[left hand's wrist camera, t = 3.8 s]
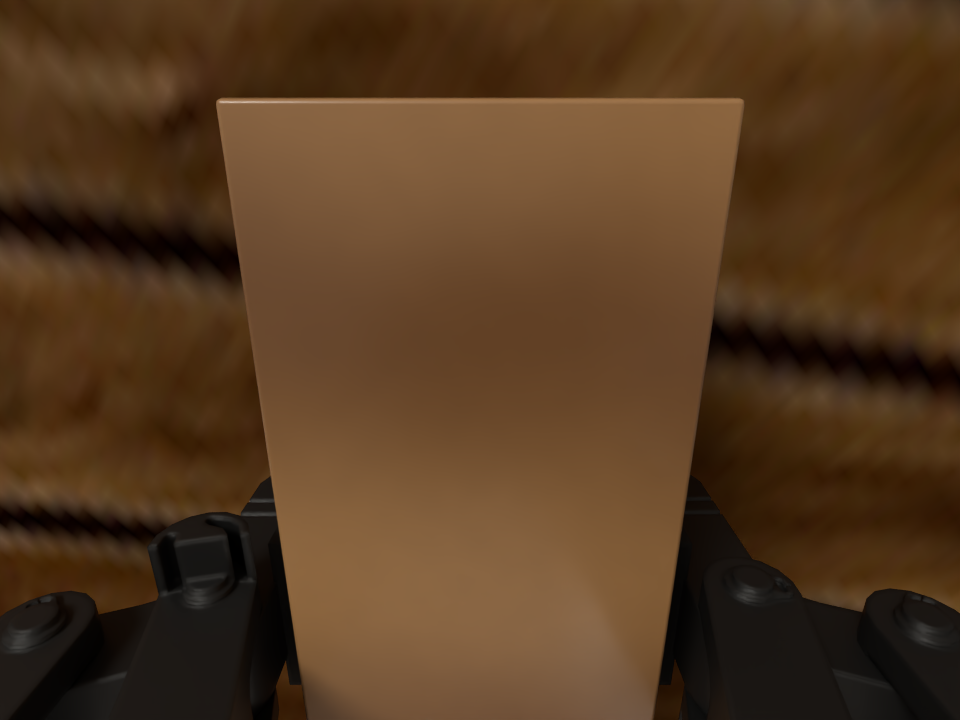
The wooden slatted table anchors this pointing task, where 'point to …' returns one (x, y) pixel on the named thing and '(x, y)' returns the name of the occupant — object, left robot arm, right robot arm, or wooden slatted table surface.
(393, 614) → the beam
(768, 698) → the left robot arm
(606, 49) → the wooden slatted table surface
